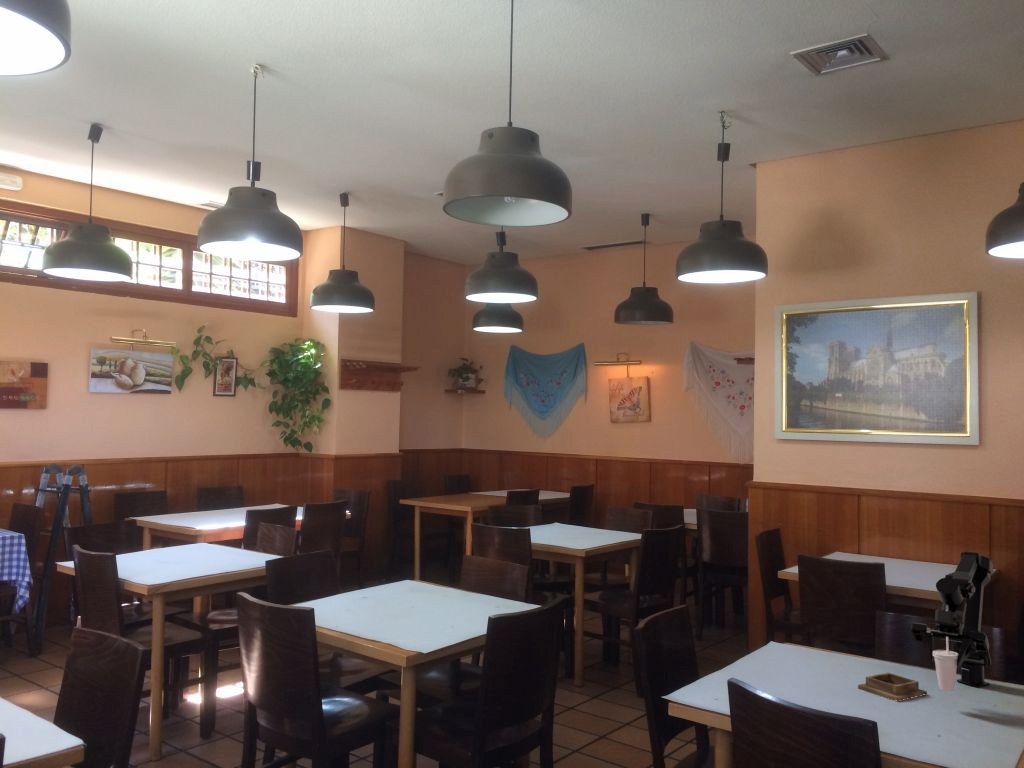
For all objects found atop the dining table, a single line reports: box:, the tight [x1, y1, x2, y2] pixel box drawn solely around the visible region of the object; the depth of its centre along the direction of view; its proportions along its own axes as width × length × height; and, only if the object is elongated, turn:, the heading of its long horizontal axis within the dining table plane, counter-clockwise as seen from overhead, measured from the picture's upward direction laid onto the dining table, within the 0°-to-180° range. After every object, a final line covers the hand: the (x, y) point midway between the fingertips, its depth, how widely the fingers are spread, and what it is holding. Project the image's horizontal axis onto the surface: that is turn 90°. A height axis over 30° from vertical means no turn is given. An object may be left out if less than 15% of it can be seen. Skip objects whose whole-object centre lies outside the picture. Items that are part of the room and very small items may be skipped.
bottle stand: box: [857, 672, 928, 702], centre depth 230 cm, size 13×13×4 cm
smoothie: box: [932, 637, 958, 692], centre depth 216 cm, size 6×6×14 cm
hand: (944, 663), depth 215 cm, fingers closed on smoothie, 6 cm apart
